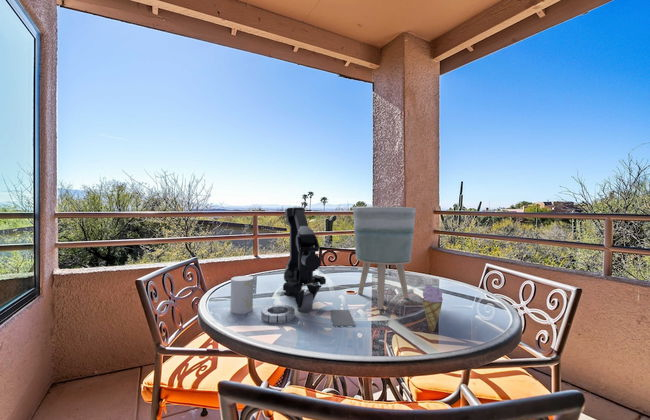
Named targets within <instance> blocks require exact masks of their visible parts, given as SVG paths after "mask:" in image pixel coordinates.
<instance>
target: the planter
mask: <svg viewBox="0 0 650 420" xmlns="http://www.w3.org/2000/svg"><path fill="white" fill-rule="evenodd" d="M352 211H353V215H352V216H353V232H354V247H355V249H354V250H355V259H356V260H357V261H358V262H362V263H363V265H362V268H361V269H362V270H361V275H360V281H359V285H358V290H357V294H358V295H363V293H364V288H365V286H366V282H367V279H368V275H369V270H370V267H371V264H373V265H377V309H378V310H384V302H385V301H384V300H385V283H386V270H387V268H386V267H387V266H390V265H391V266H393V265H395V267H396V271H397V274H398V280H399V282H400V287H401V290H402V295H403V298H404V299H406V300H409V298H410V296H409V291H408V284H407V279H406V273H405V266H404V265H406V264H410V263H411V261H412V254H413V253H412V251H413V240H414V234H415V232H414V230H415V220H416V212H417V211H416V207H408V206H406V207H403V206H402V207H401V206H399V207H398V206H354V207H352Z"/></svg>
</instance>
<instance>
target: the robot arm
mask: <svg viewBox="0 0 650 420" xmlns="http://www.w3.org/2000/svg"><path fill="white" fill-rule="evenodd" d="M284 217H285V220H286V223H287V225H288V227H289V259H288V261H287V263H286V266H285V267H286V268H284V273H283V280H284V283H283V285H282V291H284V292H283V294H284V295H287V296H290V297H294V300H295V302H296V307H297V306H298V308H301V305H302V301H303V296H304V292H305V291H304V290H303V287H306V288H307V289H308V290H307V291H309V292H310V293H313V301H314V300H315V297H316V296H317V293H319V290H320V288H322V286H323V285H326V281H327V279H326V278H325V276H323V275H318V274H314V272H315V271H317V270H318V269H319V268H320V266H321V262H322V261H321V258H320V256H318V255H317V254H316V252H319V251H320V245H319V244H320V242H319V240H318V238H317V235H316V234H315V232H314V230H313V229H312V228H310V227H309V223H308V219H307V217H306V210H305V207H303V206H294V207H287V208H286V209H285V210H284Z"/></svg>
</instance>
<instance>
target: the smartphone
mask: <svg viewBox="0 0 650 420" xmlns="http://www.w3.org/2000/svg"><path fill="white" fill-rule="evenodd" d="M329 314H330V318H331V323H332V322H333V324H332V327H333V326H335V327H334V328H342V327H341V326H353V327H352V328H355V327H356V323H355V321H354V318H353V317H352V313H351V311H350V310H349V309H330V310H329ZM336 326H337V327H336ZM354 326H355V327H354Z"/></svg>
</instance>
